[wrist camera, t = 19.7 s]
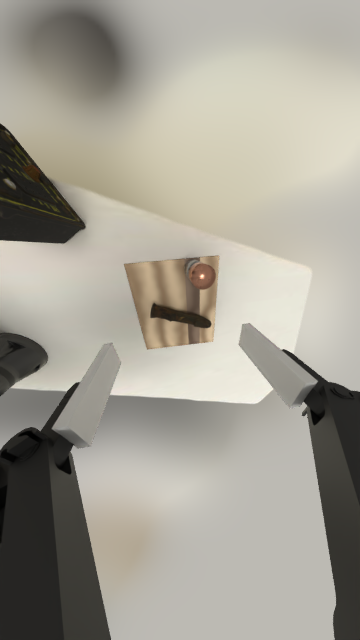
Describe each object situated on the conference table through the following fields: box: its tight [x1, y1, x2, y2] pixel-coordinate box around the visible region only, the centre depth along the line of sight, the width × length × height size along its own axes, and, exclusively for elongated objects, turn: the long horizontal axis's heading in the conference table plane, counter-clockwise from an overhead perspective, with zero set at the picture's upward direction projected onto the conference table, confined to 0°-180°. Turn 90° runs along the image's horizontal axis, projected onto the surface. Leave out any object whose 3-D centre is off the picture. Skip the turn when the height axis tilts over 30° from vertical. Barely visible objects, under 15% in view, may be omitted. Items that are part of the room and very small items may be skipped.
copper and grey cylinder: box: [184, 259, 216, 290], centre depth 28 cm, size 4×4×12 cm
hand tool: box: [150, 303, 212, 328], centre depth 38 cm, size 19×4×5 cm, turn 71°
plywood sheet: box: [124, 256, 219, 349], centre depth 39 cm, size 24×28×1 cm
